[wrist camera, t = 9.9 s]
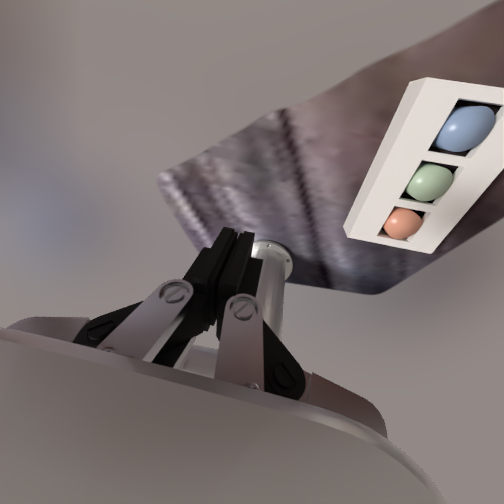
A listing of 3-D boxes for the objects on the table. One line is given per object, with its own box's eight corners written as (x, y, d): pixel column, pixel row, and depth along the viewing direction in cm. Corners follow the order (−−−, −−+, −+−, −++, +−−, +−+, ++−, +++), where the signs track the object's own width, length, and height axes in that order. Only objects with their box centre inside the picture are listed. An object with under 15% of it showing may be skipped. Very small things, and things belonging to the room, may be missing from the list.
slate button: (452, 149, 28) (473, 154, 24) (418, 144, 28) (434, 148, 25) (478, 109, 25) (506, 109, 22) (441, 104, 25) (462, 103, 22)
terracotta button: (399, 229, 35) (409, 241, 32) (373, 224, 36) (381, 235, 32) (415, 205, 33) (428, 215, 29) (386, 200, 33) (397, 210, 30)
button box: (419, 241, 36) (431, 253, 33) (343, 226, 37) (347, 237, 34) (527, 98, 24) (564, 96, 21) (409, 81, 25) (427, 77, 22)
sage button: (422, 194, 31) (437, 203, 28) (393, 189, 32) (404, 198, 29) (442, 164, 29) (461, 170, 26) (410, 158, 29) (424, 164, 26)
